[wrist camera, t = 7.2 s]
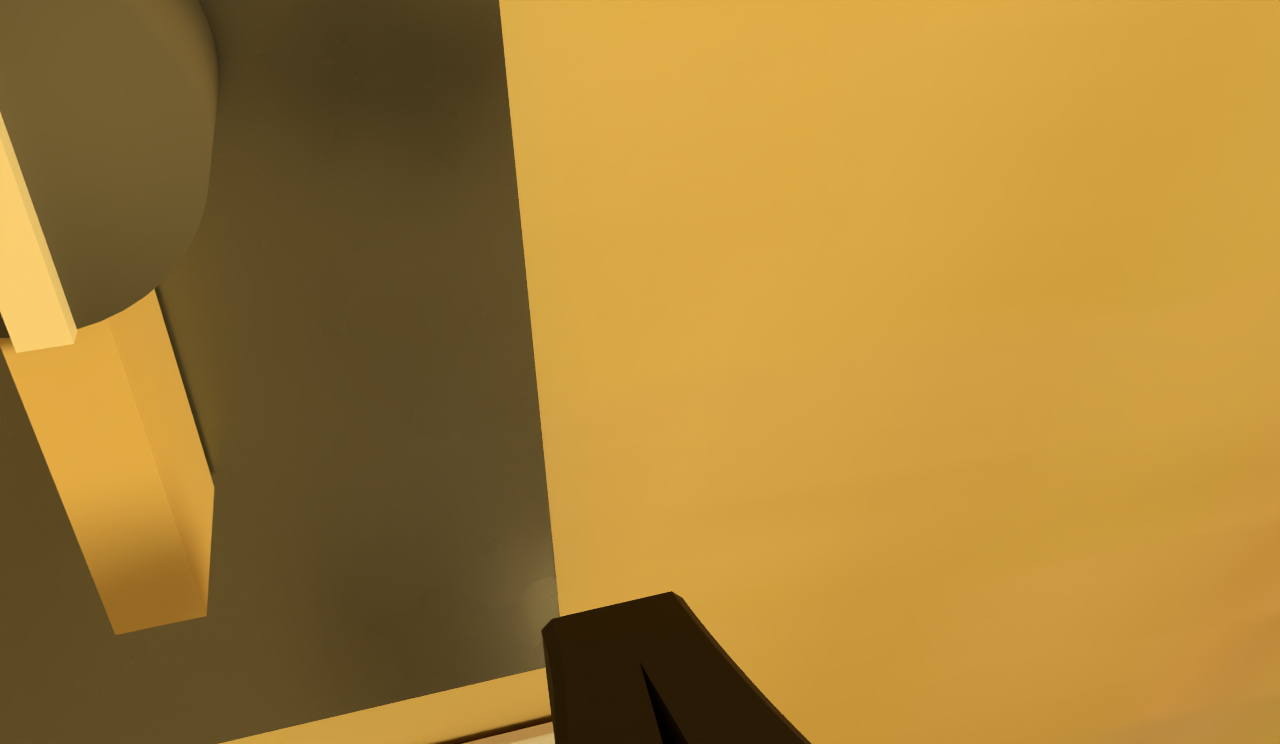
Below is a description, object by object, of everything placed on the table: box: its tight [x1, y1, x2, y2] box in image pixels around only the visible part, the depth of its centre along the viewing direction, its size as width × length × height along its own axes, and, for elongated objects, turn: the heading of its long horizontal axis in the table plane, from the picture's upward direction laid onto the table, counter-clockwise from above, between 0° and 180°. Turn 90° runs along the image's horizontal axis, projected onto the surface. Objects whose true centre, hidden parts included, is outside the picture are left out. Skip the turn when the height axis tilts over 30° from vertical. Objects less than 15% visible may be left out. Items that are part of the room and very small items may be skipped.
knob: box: [0, 0, 219, 635], centre depth 14 cm, size 9×4×4 cm, turn 2°
